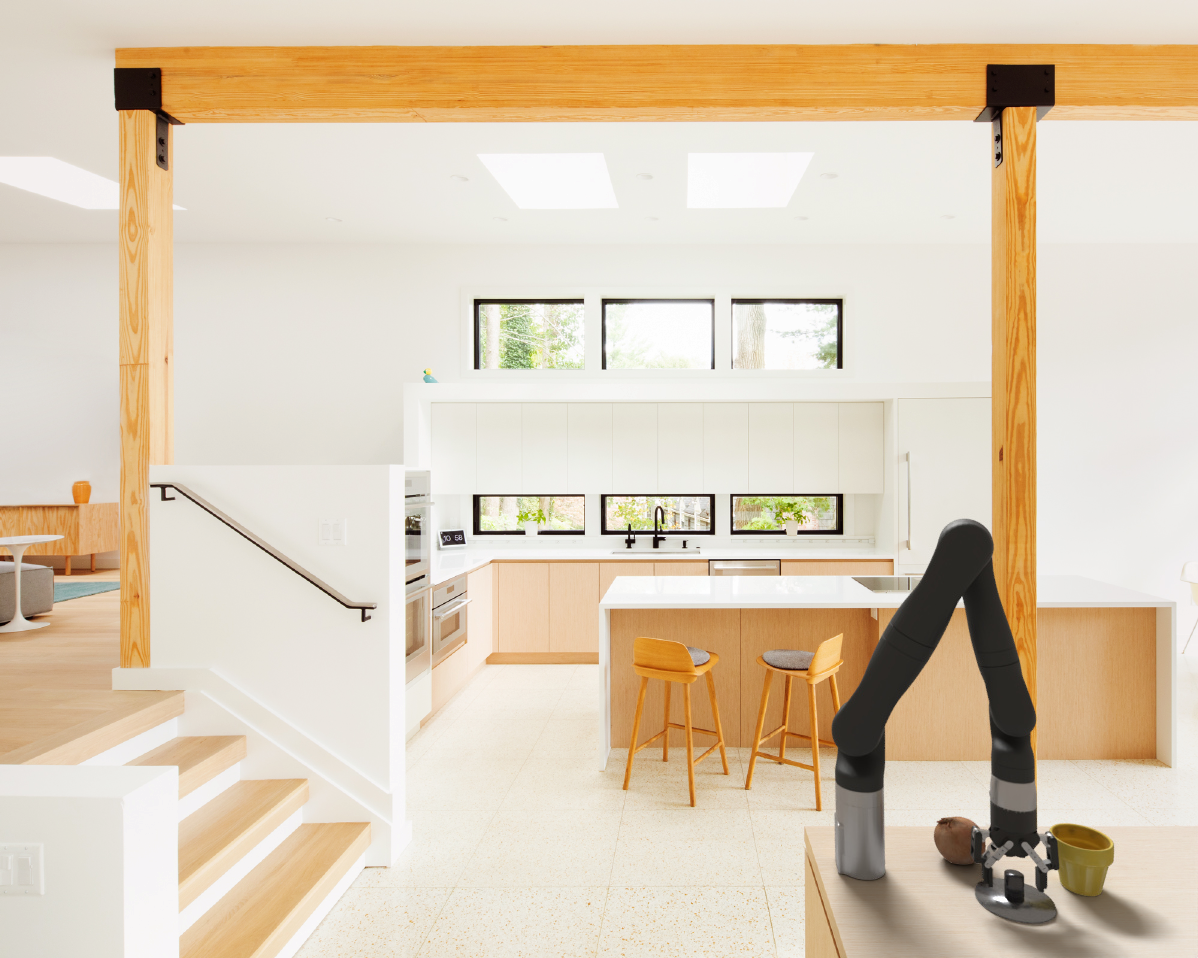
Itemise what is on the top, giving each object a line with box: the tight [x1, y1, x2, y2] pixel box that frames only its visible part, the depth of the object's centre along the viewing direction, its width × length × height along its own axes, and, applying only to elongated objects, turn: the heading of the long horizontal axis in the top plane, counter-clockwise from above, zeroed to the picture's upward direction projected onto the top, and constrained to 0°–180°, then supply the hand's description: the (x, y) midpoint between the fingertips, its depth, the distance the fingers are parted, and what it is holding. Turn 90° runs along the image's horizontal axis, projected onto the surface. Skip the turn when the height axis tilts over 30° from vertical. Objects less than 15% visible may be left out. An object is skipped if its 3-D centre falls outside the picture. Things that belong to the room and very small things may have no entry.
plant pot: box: [1048, 822, 1115, 897], centre depth 139 cm, size 10×10×10 cm
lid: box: [974, 868, 1057, 925], centre depth 135 cm, size 13×13×6 cm
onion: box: [933, 816, 987, 865], centre depth 148 cm, size 10×9×10 cm
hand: (1014, 887), depth 135 cm, fingers open, 8 cm apart
